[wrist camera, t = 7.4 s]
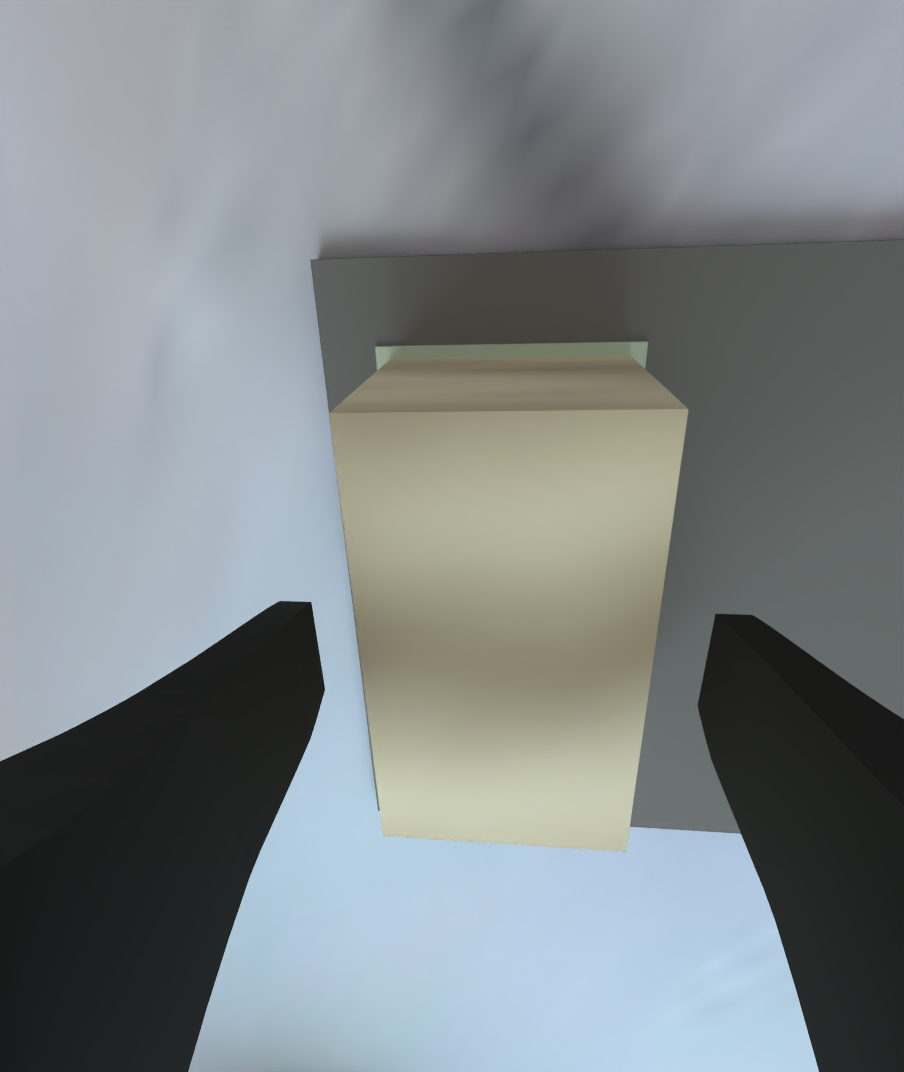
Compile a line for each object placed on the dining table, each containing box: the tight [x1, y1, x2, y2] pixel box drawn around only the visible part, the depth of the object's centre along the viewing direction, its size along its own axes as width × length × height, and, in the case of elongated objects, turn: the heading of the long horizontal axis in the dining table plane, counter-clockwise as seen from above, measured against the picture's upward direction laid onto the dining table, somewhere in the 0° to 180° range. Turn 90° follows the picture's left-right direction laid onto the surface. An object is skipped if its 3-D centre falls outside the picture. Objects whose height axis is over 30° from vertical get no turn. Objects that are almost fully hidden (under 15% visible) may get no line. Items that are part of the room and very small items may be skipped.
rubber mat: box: [311, 240, 904, 834], centre depth 14 cm, size 20×16×1 cm
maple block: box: [329, 355, 688, 852], centre depth 12 cm, size 9×5×4 cm, turn 2°
